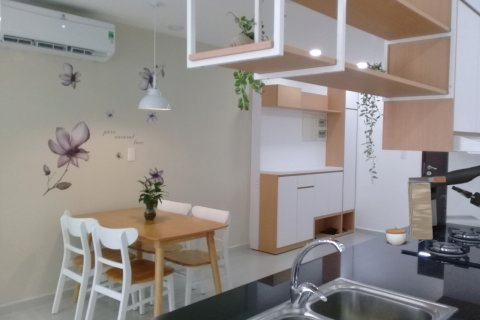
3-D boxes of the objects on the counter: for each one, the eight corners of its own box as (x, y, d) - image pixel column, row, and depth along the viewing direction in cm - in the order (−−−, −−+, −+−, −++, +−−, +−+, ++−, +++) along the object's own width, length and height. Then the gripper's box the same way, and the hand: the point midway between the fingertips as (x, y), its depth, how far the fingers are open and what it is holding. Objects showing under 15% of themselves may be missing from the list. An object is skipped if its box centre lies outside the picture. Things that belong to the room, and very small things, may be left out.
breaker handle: (410, 182, 252) (410, 177, 252) (444, 181, 248) (444, 176, 248) (411, 183, 249) (411, 178, 249) (446, 182, 244) (445, 176, 244)
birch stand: (410, 234, 258) (407, 177, 258) (427, 234, 256) (425, 176, 256) (414, 239, 244) (411, 178, 243) (432, 239, 241) (430, 178, 241)
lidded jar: (392, 241, 242) (392, 224, 242) (410, 243, 234) (409, 226, 233) (382, 244, 235) (381, 227, 235) (400, 247, 227) (399, 229, 227)
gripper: (480, 194, 248) (454, 181, 251) (489, 196, 234) (460, 183, 238) (474, 205, 249) (447, 192, 252) (481, 208, 235) (453, 194, 239)
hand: (454, 187), depth 245 cm, fingers open, 8 cm apart
